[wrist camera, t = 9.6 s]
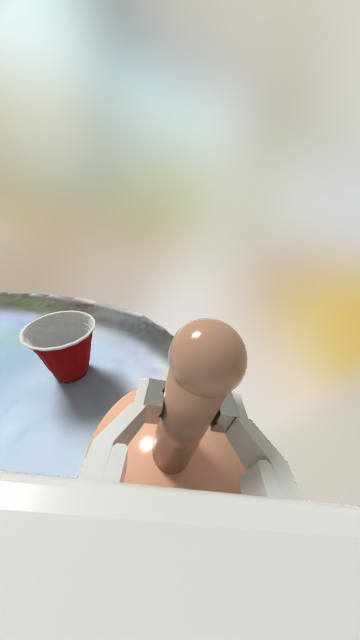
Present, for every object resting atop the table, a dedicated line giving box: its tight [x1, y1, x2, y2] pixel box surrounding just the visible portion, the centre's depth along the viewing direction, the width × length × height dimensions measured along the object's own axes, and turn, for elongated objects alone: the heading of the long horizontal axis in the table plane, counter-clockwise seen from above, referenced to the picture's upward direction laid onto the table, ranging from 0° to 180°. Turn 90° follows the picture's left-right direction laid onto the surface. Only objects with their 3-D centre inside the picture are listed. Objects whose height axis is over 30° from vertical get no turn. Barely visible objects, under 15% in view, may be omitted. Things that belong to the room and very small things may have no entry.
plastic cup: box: [19, 311, 95, 383], centre depth 31 cm, size 11×11×12 cm
